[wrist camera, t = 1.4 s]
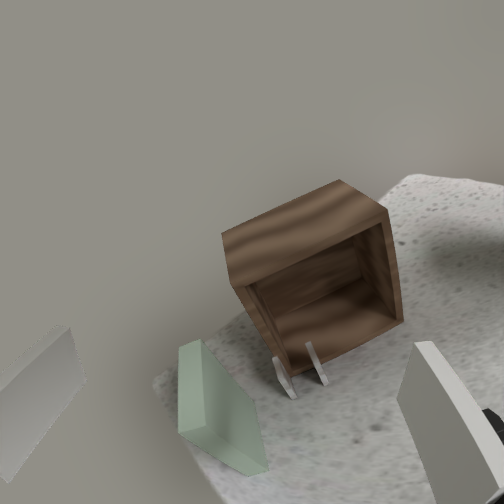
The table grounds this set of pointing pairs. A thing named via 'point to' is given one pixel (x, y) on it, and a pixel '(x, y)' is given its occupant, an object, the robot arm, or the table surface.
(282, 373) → the cabinet
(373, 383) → the table surface
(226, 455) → the cabinet door
